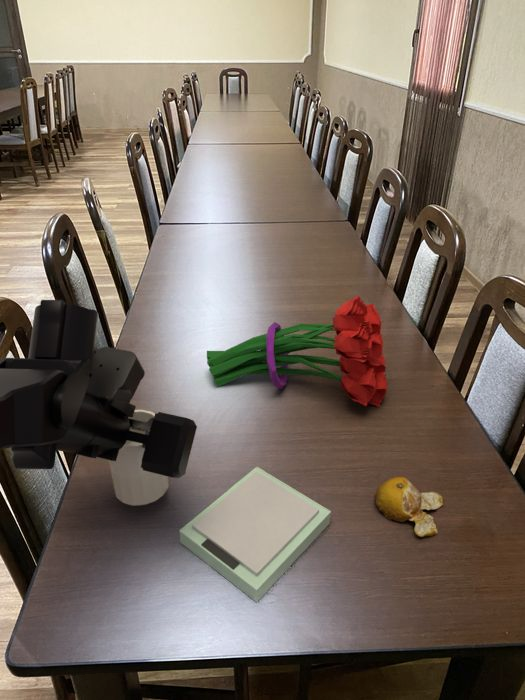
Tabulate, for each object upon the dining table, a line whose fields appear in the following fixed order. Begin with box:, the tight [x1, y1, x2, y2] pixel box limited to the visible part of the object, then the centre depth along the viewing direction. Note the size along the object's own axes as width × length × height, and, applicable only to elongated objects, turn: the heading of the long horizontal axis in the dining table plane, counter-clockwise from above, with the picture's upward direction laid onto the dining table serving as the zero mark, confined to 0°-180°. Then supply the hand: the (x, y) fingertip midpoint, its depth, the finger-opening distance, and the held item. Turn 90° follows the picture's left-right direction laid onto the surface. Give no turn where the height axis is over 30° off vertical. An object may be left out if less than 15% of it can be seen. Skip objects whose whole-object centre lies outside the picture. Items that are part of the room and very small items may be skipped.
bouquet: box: [206, 294, 388, 407], centre depth 88 cm, size 20×16×30 cm
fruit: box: [373, 476, 444, 538], centre depth 68 cm, size 8×8×4 cm
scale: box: [179, 466, 332, 603], centre depth 65 cm, size 14×12×3 cm
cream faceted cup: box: [107, 409, 170, 506], centre depth 66 cm, size 7×7×10 cm
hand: (141, 438), depth 66 cm, fingers closed on cream faceted cup, 7 cm apart
